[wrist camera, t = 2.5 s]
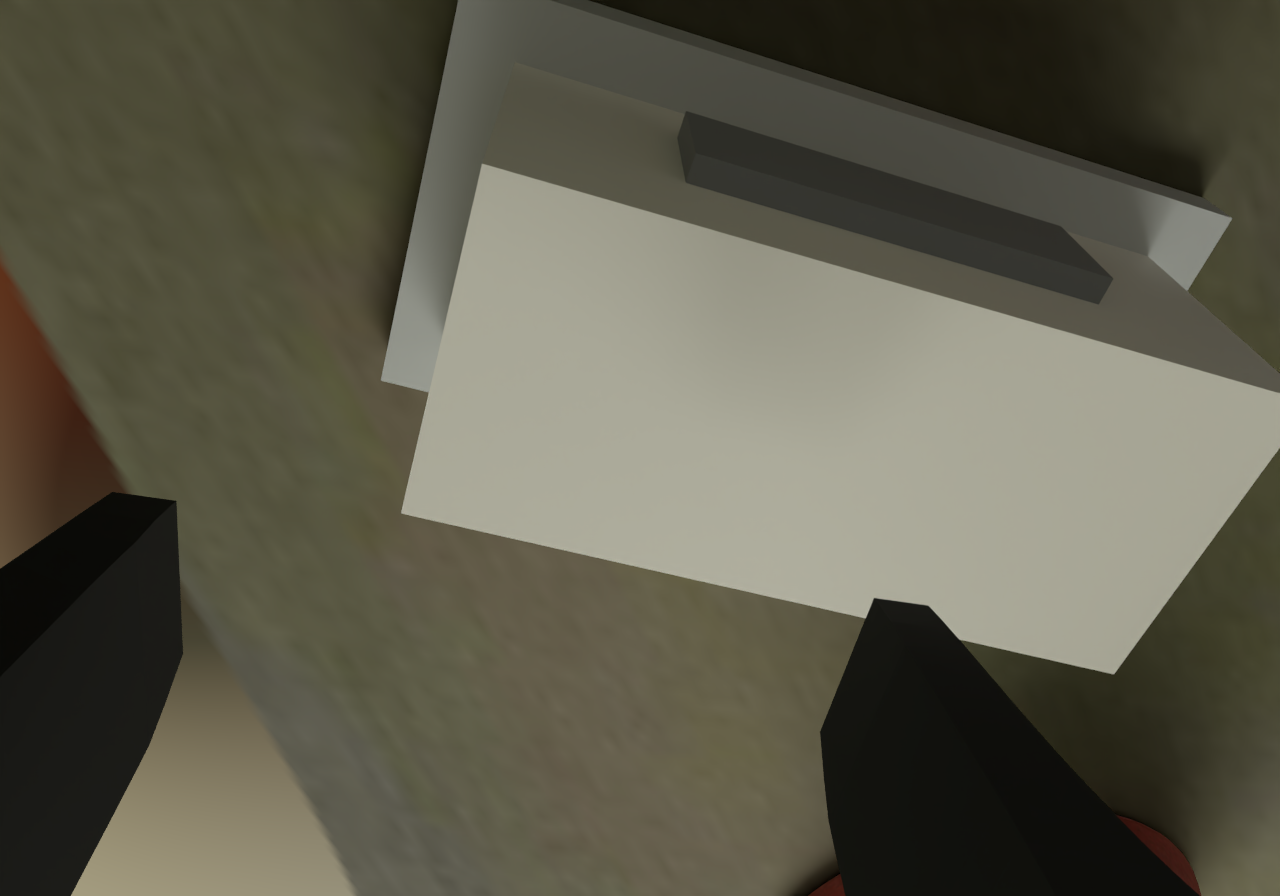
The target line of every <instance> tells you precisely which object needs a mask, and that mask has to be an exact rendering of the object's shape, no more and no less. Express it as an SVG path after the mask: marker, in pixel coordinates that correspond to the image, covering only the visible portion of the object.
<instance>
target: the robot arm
mask: <svg viewBox="0 0 1280 896" xmlns="http://www.w3.org/2000/svg"><path fill="white" fill-rule="evenodd" d="M182 655H183V645H182V623H181V601H180V576H179V553H178V530H177V506H176V501H173V500H166V499H159V498H151V497H144V496H137V495H130V494H122V493H115V492H112V493H110V494H109V495H107V496H106V497H104V498H103V499H101V500H100V501H99V502H97V503H95V504H94V505H92V506H91V507H89V508H88V509H86V510H85V511H83V512H82V513H80V514H79V515H77V516H76V517H74V518H73V519H72V520H70V521H69V522H67V523H66V524H65V525H63V526H62V527H60V528H58V529H57V530H56V531H54V532H53V533H51V534H50V535H48V536H47V537H46V538H44V539H43V540H41V541H40V542H38V543H37V544H35V545H34V546H33V547H31V548H30V549H28V550H27V551H25V552H24V553H22V554H21V555H20V556H18V557H17V558H15V559H14V560H12V561H11V562H9V563H8V564H6V565H5V566H4V567H2V568H1V569H0V896H71V894H72V892H73V890H74V888H75V887H76V885H77V883H78V881H79V879H80V877H81V875H82V873H83V871H84V869H85V868H86V866H87V864H88V861H89V860H90V858H91V856H92V854H93V852H94V850H95V849H96V847H97V845H98V843H99V841H100V839H101V837H102V835H103V833H104V831H105V830H106V828H107V826H108V824H109V822H110V820H111V818H112V816H113V814H114V812H115V810H116V808H117V806H118V805H119V803H120V801H121V799H122V797H123V795H124V793H125V791H126V789H127V787H128V785H129V783H130V781H131V780H132V778H133V776H134V774H135V772H136V770H137V768H138V766H139V764H140V762H141V760H142V758H143V756H144V754H145V752H146V750H147V748H148V746H149V744H150V741H151V739H152V736H153V734H154V731H155V729H156V725H157V723H158V721H159V718H160V715H161V713H162V710H163V708H164V705H165V702H166V700H167V697H168V694H169V691H170V688H171V686H172V682H173V680H174V677H175V674H176V671H177V669H178V666H179V663H180V660H181V658H182ZM820 735H821V747H822V759H823V771H824V783H825V792H826V801H827V810H828V819H829V824H830V829H831V834H832V839H833V843H834V848H835V852H836V857H837V861H838V866H839V870H840V875H841V879H842V884H843V888H844V893H845V896H1200V895H1199V894H1198V893H1196V892H1195V891H1194V890H1193V889H1192V888H1191V887H1190V886H1189V885H1188V884H1186V883H1185V882H1184V881H1183V880H1182V879H1181V878H1180V877H1179V876H1178V875H1176V874H1175V873H1174V872H1173V871H1172V870H1171V869H1170V868H1169V867H1168V866H1167V865H1166V864H1165V863H1164V862H1163V861H1162V860H1161V859H1160V858H1159V857H1158V856H1156V855H1155V854H1154V853H1153V852H1152V851H1151V850H1150V849H1149V848H1148V847H1147V846H1146V845H1145V844H1144V843H1143V842H1142V841H1141V840H1140V839H1139V838H1138V837H1137V836H1136V835H1135V834H1134V833H1133V832H1132V831H1131V830H1130V829H1129V828H1128V827H1127V826H1126V825H1125V824H1124V823H1123V822H1122V821H1121V820H1120V819H1119V818H1118V817H1117V815H1116V814H1115V813H1114V812H1113V811H1112V810H1111V809H1110V808H1109V807H1108V806H1107V805H1106V804H1105V803H1104V802H1103V801H1102V800H1101V799H1100V798H1099V797H1098V796H1097V795H1096V794H1095V793H1094V792H1093V791H1092V790H1091V789H1090V788H1089V787H1088V786H1087V784H1086V783H1085V782H1084V781H1083V780H1082V779H1081V778H1080V777H1079V776H1078V775H1077V774H1076V773H1075V772H1074V771H1073V769H1072V768H1071V767H1070V766H1069V765H1068V764H1067V763H1066V762H1065V761H1064V760H1063V759H1062V757H1061V756H1060V755H1059V754H1058V753H1057V752H1056V751H1055V750H1054V749H1053V748H1052V746H1051V745H1050V744H1049V743H1048V742H1047V741H1046V740H1045V739H1044V737H1043V736H1042V735H1041V734H1040V733H1039V732H1038V731H1037V730H1036V728H1035V727H1034V726H1033V725H1032V724H1031V723H1030V722H1029V720H1028V719H1027V718H1026V717H1025V716H1024V715H1023V714H1022V712H1021V711H1020V710H1019V709H1018V708H1017V707H1016V705H1015V704H1014V703H1013V702H1012V701H1011V700H1010V699H1009V697H1008V696H1007V695H1006V694H1005V693H1004V692H1003V690H1002V689H1001V688H1000V687H999V686H998V684H997V683H996V682H995V681H994V680H993V679H992V677H991V676H990V675H989V674H988V673H987V672H986V670H985V669H984V668H983V667H982V666H981V665H980V663H979V662H978V661H977V660H976V659H975V658H974V656H973V655H972V654H971V653H970V652H969V651H968V649H967V648H966V647H965V646H964V645H963V644H962V642H961V641H960V640H959V639H958V638H957V637H956V635H955V634H954V633H953V632H952V631H951V630H950V629H949V627H948V626H947V625H946V624H945V623H944V622H943V621H942V620H941V618H940V617H939V616H938V615H937V614H936V613H935V612H934V611H933V610H932V609H931V608H930V607H929V606H928V605H921V604H914V603H907V602H900V601H892V600H885V599H878V598H874V599H873V602H872V604H871V607H870V609H869V612H868V614H867V617H866V619H865V622H864V624H863V627H862V629H861V632H860V634H859V637H858V639H857V642H856V644H855V647H854V649H853V652H852V654H851V657H850V659H849V661H848V664H847V666H846V669H845V671H844V674H843V676H842V679H841V681H840V684H839V686H838V689H837V691H836V694H835V696H834V699H833V701H832V704H831V706H830V709H829V711H828V714H827V716H826V719H825V721H824V724H823V726H822V729H821V731H820Z"/></svg>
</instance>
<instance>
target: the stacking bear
mask: <svg viewBox="0 0 1280 896" xmlns="http://www.w3.org/2000/svg"><path fill="white" fill-rule="evenodd" d="M1117 817H1118V818H1119V819H1120V820H1121V821H1122V822H1123V823H1124V824H1125V825H1126V826H1127V827H1128V828H1129V829H1130V830H1131V831H1132V832H1133V833H1134V834H1135V835H1136V836H1137V837H1138V838H1139V839H1140V840H1141V841H1142V842H1143V843H1144V844H1145V845H1146V846H1147V847H1148V848H1149V849H1150V850H1151V851H1152V852H1153V853H1154V854H1155V855H1156V856H1158V857H1159V858H1160V859H1161V860H1162V861H1163V862H1164V863H1165V864H1166V865H1167V866H1168V867H1169V868H1170V869H1171V870H1172V871H1173V872H1174V873H1175V874H1176V875H1178V876H1179V877H1180V878H1181V879H1182V880H1183V881H1184V882H1185V883H1186V884H1188V885H1189V886H1190V887H1191V888H1192V889H1193V890H1194V891H1195V892H1196V893H1198V894H1199V895H1200V896H1201V893H1200V889H1199V886H1198V883H1197V880H1196V877H1195V875H1194V872H1193V870H1192V868H1191V866H1190V864H1189V862H1188V861H1187V859H1186V858H1185V856H1184V855H1183V854H1182V852H1181V851H1180V850H1179V849H1178V848H1177V847H1176V846H1175V845H1174V844H1173V843H1172V842H1171V841H1170V840H1169V839H1167V838H1166V837H1165V836H1163V835H1162V834H1160V833H1158V832H1157V831H1155V830H1153V829H1151V828H1149V827H1147V826H1145V825H1144V824H1142V823H1139V822H1136V821H1134V820H1131V819H1129V818H1125V817H1122V816H1118V815H1117ZM808 896H845V893H844V888H843V884H842V879H841V875H840V874H839V875H837V876H836V877H834V878H832V879H831V880H829V881H828V882H826V883H825V884H823V885H822V886H820V887H819V888H818V889H816V890H815V891H814V892H812V893H811V894H809V895H808Z"/></svg>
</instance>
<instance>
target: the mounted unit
mask: <svg viewBox="0 0 1280 896" xmlns="http://www.w3.org/2000/svg"><path fill="white" fill-rule="evenodd" d="M1231 220H1232V218H1231V217H1230V216H1229V215H1227V214H1226V213H1224V212H1223V211H1222V210H1220V209H1219V208H1217V207H1216V206H1215V205H1213V204H1212V203H1210V202H1209V201H1207V200H1206V199H1205V198H1202V197H1199V196H1196V195H1193V194H1190V193H1187V192H1184V191H1180V190H1177V189H1174V188H1171V187H1168V186H1165V185H1162V184H1159V183H1156V182H1152V181H1149V180H1146V179H1143V178H1140V177H1137V176H1134V175H1131V174H1128V173H1124V172H1121V171H1118V170H1115V169H1112V168H1109V167H1106V166H1103V165H1100V164H1096V163H1093V162H1090V161H1087V160H1084V159H1081V158H1078V157H1075V156H1072V155H1068V154H1065V153H1062V152H1059V151H1056V150H1053V149H1050V148H1047V147H1044V146H1040V145H1037V144H1034V143H1031V142H1028V141H1025V140H1022V139H1019V138H1016V137H1012V136H1009V135H1006V134H1003V133H1000V132H997V131H994V130H991V129H988V128H984V127H981V126H978V125H975V124H972V123H969V122H966V121H963V120H960V119H956V118H953V117H950V116H947V115H944V114H941V113H938V112H935V111H932V110H928V109H925V108H922V107H919V106H916V105H913V104H910V103H907V102H904V101H900V100H897V99H894V98H891V97H888V96H885V95H882V94H879V93H876V92H872V91H869V90H866V89H863V88H860V87H857V86H854V85H851V84H848V83H844V82H841V81H838V80H835V79H832V78H829V77H826V76H823V75H820V74H816V73H813V72H810V71H807V70H804V69H801V68H798V67H795V66H792V65H788V64H785V63H782V62H779V61H776V60H773V59H770V58H767V57H764V56H760V55H757V54H754V53H751V52H748V51H745V50H742V49H739V48H736V47H732V46H729V45H726V44H723V43H720V42H717V41H714V40H711V39H708V38H704V37H701V36H698V35H695V34H692V33H689V32H686V31H683V30H680V29H676V28H673V27H670V26H667V25H664V24H661V23H658V22H655V21H652V20H648V19H645V18H642V17H639V16H636V15H633V14H630V13H627V12H624V11H620V10H617V9H614V8H611V7H608V6H605V5H602V4H599V3H596V2H592V1H589V0H458V4H457V9H456V14H455V19H454V24H453V29H452V33H451V38H450V43H449V48H448V53H447V58H446V63H445V68H444V73H443V78H442V83H441V88H440V92H439V97H438V102H437V107H436V112H435V117H434V122H433V127H432V132H431V137H430V142H429V147H428V151H427V156H426V161H425V166H424V171H423V176H422V181H421V186H420V191H419V196H418V201H417V206H416V210H415V215H414V220H413V225H412V230H411V235H410V240H409V245H408V250H407V255H406V260H405V265H404V269H403V274H402V279H401V284H400V289H399V294H398V299H397V304H396V309H395V314H394V319H393V323H392V328H391V333H390V338H389V343H388V348H387V353H386V358H385V363H384V368H383V373H382V378H381V381H385V382H389V383H393V384H397V385H401V386H405V387H409V388H413V389H417V390H421V391H425V392H429V395H428V399H427V404H426V408H425V412H424V416H423V421H422V425H421V429H420V434H419V438H418V442H417V447H416V451H415V455H414V460H413V464H412V468H411V473H410V477H409V481H408V485H407V490H406V494H405V498H404V503H403V507H402V511H401V513H402V514H406V515H410V516H415V517H419V518H424V519H428V520H433V521H437V522H441V523H446V524H450V525H455V526H459V527H464V528H468V529H472V530H477V531H481V532H486V533H490V534H495V535H499V536H503V537H508V538H512V539H517V540H521V541H526V542H530V543H534V544H539V545H543V546H548V547H552V548H557V549H561V550H565V551H570V552H574V553H579V554H583V555H587V556H592V557H596V558H601V559H605V560H610V561H614V562H618V563H623V564H627V565H632V566H636V567H641V568H645V569H649V570H654V571H658V572H663V573H667V574H672V575H676V576H680V577H685V578H689V579H694V580H698V581H703V582H707V583H711V584H716V585H720V586H725V587H729V588H734V589H738V590H742V591H747V592H751V593H756V594H760V595H765V596H769V597H773V598H778V599H782V600H787V601H791V602H795V603H800V604H804V605H809V606H813V607H818V608H822V609H826V610H831V611H835V612H840V613H844V614H849V615H853V616H857V617H862V618H866V617H867V614H868V612H869V609H870V607H871V604H872V602H873V599H874V598H878V599H885V600H892V601H900V602H907V603H914V604H921V605H928V606H929V607H930V608H931V609H932V610H933V611H934V612H935V613H936V614H937V615H938V616H939V617H940V618H941V620H942V621H943V622H944V623H945V624H946V625H947V626H948V627H949V629H950V630H951V631H952V632H953V633H954V634H955V635H956V637H957V638H958V639H959V640H964V641H968V642H973V643H977V644H981V645H986V646H990V647H995V648H999V649H1003V650H1008V651H1012V652H1017V653H1021V654H1026V655H1030V656H1034V657H1039V658H1043V659H1048V660H1052V661H1057V662H1061V663H1065V664H1070V665H1074V666H1079V667H1083V668H1088V669H1092V670H1096V671H1101V672H1105V673H1110V674H1115V672H1116V671H1117V670H1118V668H1119V667H1120V665H1121V664H1122V663H1123V661H1124V660H1125V659H1126V657H1127V656H1128V654H1129V653H1130V652H1131V650H1132V649H1133V648H1134V646H1135V645H1136V644H1137V642H1138V641H1139V639H1140V638H1141V637H1142V635H1143V634H1144V633H1145V631H1146V630H1147V628H1148V627H1149V626H1150V624H1151V623H1152V622H1153V620H1154V619H1155V618H1156V616H1157V615H1158V613H1159V612H1160V611H1161V609H1162V608H1163V607H1164V605H1165V604H1166V603H1167V601H1168V600H1169V598H1170V597H1171V596H1172V594H1173V593H1174V592H1175V590H1176V589H1177V587H1178V586H1179V585H1180V583H1181V582H1182V581H1183V579H1184V578H1185V577H1186V575H1187V574H1188V572H1189V571H1190V570H1191V568H1192V567H1193V566H1194V564H1195V563H1196V561H1197V560H1198V559H1199V557H1200V556H1201V555H1202V553H1203V552H1204V551H1205V549H1206V548H1207V546H1208V545H1209V544H1210V542H1211V541H1212V540H1213V538H1214V537H1215V536H1216V534H1217V533H1218V531H1219V530H1220V529H1221V527H1222V526H1223V525H1224V523H1225V522H1226V520H1227V519H1228V518H1229V516H1230V515H1231V514H1232V512H1233V511H1234V510H1235V508H1236V507H1237V505H1238V504H1239V503H1240V501H1241V500H1242V499H1243V497H1244V496H1245V494H1246V493H1247V492H1248V490H1249V489H1250V488H1251V486H1252V485H1253V484H1254V482H1255V481H1256V479H1257V478H1258V477H1259V475H1260V474H1261V473H1262V471H1263V470H1264V469H1265V467H1266V466H1267V464H1268V463H1269V462H1270V460H1271V459H1272V458H1273V456H1274V455H1275V453H1276V452H1277V451H1278V449H1279V448H1280V373H1278V372H1277V371H1276V370H1275V369H1274V368H1273V367H1272V366H1271V365H1269V364H1268V363H1267V362H1266V361H1265V360H1264V359H1263V358H1262V357H1261V356H1259V355H1258V354H1257V353H1256V352H1255V351H1254V350H1253V349H1252V348H1250V347H1249V346H1248V345H1247V344H1246V343H1245V342H1244V341H1243V340H1241V339H1240V338H1239V337H1238V336H1237V335H1236V334H1235V333H1234V332H1232V331H1231V330H1230V329H1229V328H1228V327H1227V326H1226V325H1225V324H1223V323H1222V322H1221V321H1220V320H1219V319H1218V318H1217V317H1216V316H1215V315H1213V314H1212V313H1211V312H1210V311H1209V310H1208V309H1207V308H1206V307H1204V306H1203V305H1202V304H1201V303H1200V302H1199V301H1198V300H1197V299H1195V298H1194V297H1193V296H1192V295H1191V294H1190V293H1189V292H1188V289H1189V287H1190V286H1191V284H1192V282H1193V281H1194V279H1195V278H1196V276H1197V274H1198V273H1199V271H1200V270H1201V268H1202V266H1203V265H1204V263H1205V262H1206V260H1207V258H1208V257H1209V255H1210V254H1211V252H1212V250H1213V249H1214V247H1215V245H1216V244H1217V242H1218V241H1219V239H1220V237H1221V236H1222V234H1223V233H1224V231H1225V229H1226V228H1227V226H1228V225H1229V223H1230V221H1231Z"/></svg>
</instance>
